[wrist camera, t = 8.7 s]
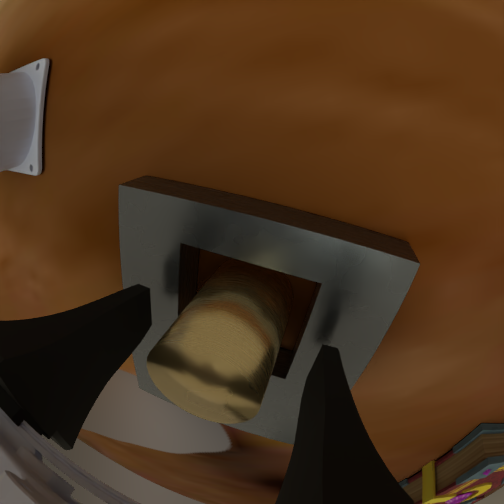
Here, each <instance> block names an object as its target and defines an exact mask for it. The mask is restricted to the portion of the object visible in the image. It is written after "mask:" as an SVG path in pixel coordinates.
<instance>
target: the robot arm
mask: <svg viewBox="0 0 504 504" xmlns="http://www.w3.org/2000/svg"><path fill="white" fill-rule="evenodd" d="M48 69H49V59H48V58H43V59H40V60H38V61H35V62H33V63H30V64H28V65H25V66H23V67H21V68H18V69H16V70H14V71H12V72H10V73H2V74H0V172H2V171H5V170H9V171H14V172H19V173H24V174H29V175H34V176H36V175H39V174H41V172H42V128H43V111H44V100H45V91H46V83H47V76H48ZM151 326H152V315H151V297H150V288H148V287H145V286H143V285H140V284H136V285H134V286H131V287H128V288H126V289H123V290H121V291H118V292H116V293H114V294H111V295H109V296H106V297H104V298H101V299H99V300H96V301H94V302H91V303H88V304H86V305H83V306H80V307H77V308H75V309H71V310H68V311H65V312H61V313H57V314H54V315H49V316H44V317H38V318H33V319H25V320H13V321H0V504H82V503H81V502H79V501H78V500H76V499H75V498H74V497H72V496H71V494H72V492H73V491H74V490H75V489H74V487H73V486H72V485H70V484H69V483H68V482H66V481H65V480H64V479H63V478H61V477H60V476H58V474H56V473H55V472H54V471H52V470H51V469H50V468H49V467H48V466H47V465H45V464H44V463H43V461H42V455H43V456H44V457H45V458H46V459H47V460H49V461H50V462H51V463H52V464H53V465H54V466H56V467H57V468H58V469H60V470H61V471H62V472H63V473H64V474H66V475H67V476H69V477H70V478H71V479H72V480H74V481H75V482H76V483H78V484H79V485H81V486H82V487H83V488H85V489H86V490H88V491H89V492H91V493H92V494H94V495H95V496H97V497H98V498H100V499H102V500H103V501H105V502H106V503H108V504H140V503H138V502H136V501H134V500H132V499H130V498H128V497H126V496H125V495H123V494H121V493H119V492H118V491H116V490H114V489H113V488H111V487H109V486H108V485H106V484H105V483H103V482H101V481H99V480H98V479H97V478H95V477H94V476H92V475H91V474H89V473H88V472H86V471H85V470H83V469H82V468H80V467H79V466H78V465H76V464H75V463H74V462H72V461H71V460H70V459H68V458H67V457H66V456H64V455H63V454H62V453H61V452H59V451H58V450H57V449H56V448H55V447H53V446H52V445H51V444H50V443H49V442H47V441H46V440H45V439H44V438H43V437H42V436H41V435H42V434H43V435H44V436H45V437H47V438H48V439H50V438H51V439H52V440H54V441H55V442H56V443H57V444H58V445H60V446H61V447H62V448H63V449H65V450H70V449H72V448H73V446H74V443H75V441H76V438H77V436H78V434H79V432H80V429H81V427H82V425H83V423H84V421H85V419H86V417H87V415H88V413H89V411H90V410H91V408H92V406H93V405H94V403H95V401H96V399H97V398H98V396H99V394H100V393H101V391H102V390H103V388H104V387H105V385H106V384H107V382H108V381H109V380H110V378H111V377H112V376H113V374H114V373H115V372H116V371H117V370H118V369H119V368H120V366H121V365H122V364H123V363H124V362H125V361H126V359H127V358H128V357H129V356H130V355H131V354H132V352H133V351H134V350H135V349H136V348H137V346H138V345H139V344H140V343H141V341H142V340H143V338H144V337H145V335H146V334H147V332H148V330H149V329H150V327H151ZM41 454H42V455H41ZM275 504H414V501H413V500H412V498H411V497H410V496H409V495H408V494H407V493H406V492H405V490H404V489H403V488H402V487H401V486H400V485H399V483H398V482H397V481H396V479H395V478H394V477H393V475H392V474H391V473H390V471H389V470H388V468H387V467H386V465H385V463H384V462H383V460H382V459H381V457H380V455H379V454H378V452H377V451H376V449H375V447H374V445H373V443H372V441H371V439H370V438H369V436H368V433H367V431H366V429H365V427H364V425H363V423H362V420H361V418H360V416H359V413H358V411H357V408H356V405H355V403H354V400H353V397H352V394H351V391H350V388H349V385H348V382H347V379H346V375H345V372H344V368H343V364H342V360H341V356H340V352H339V350H338V348H335V347H331V346H327V345H324V344H322V346H321V349H320V351H319V353H318V355H317V357H316V359H315V361H314V364H313V366H312V368H311V370H310V372H309V374H308V376H307V378H306V382H305V386H304V390H303V394H302V398H301V403H300V410H299V416H298V423H297V429H296V435H295V441H294V447H293V452H292V456H291V459H290V463H289V466H288V469H287V472H286V475H285V478H284V481H283V484H282V487H281V490H280V493H279V495H278V498H277V501H276V503H275Z"/></svg>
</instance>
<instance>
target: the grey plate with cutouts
mask: <svg viewBox="0 0 504 504" xmlns="http://www.w3.org/2000/svg"><path fill="white" fill-rule="evenodd" d="M119 238H120V256H121V270H122V281H123V289H126V288H128V287H131V286H134V285H136V284H140V285H143V286H145V287H148V288H150V297H151V315H152V326H151V327H150V329H149V330H148V332H147V334H146V335H145V337H144V338H143V340H142V341H141V343H140V344H139V345H138V346H137V348H136V349H135V350H134V351H133V352H132V354H133V359H134V365H135V370H136V374H137V379H138V384H139V388H141V389H142V390H144V391H146V392H148V393H150V394H152V395H155V396H157V397H159V398H161V399H163V400H165V401H167V402H170V403H172V404H174V403H173V402H171V401H170V400H169V399H168V398H167V397H166V396H165V395H163V393H162V392H161V391H160V390H159V389H158V388H157V387H156V385H155V384H154V382H153V381H152V379H151V377H150V375H149V373H148V369H147V362H146V361H147V356H148V354H149V352H150V351H151V350H152V348H153V347H154V346H155V345H156V343H157V342H158V341H159V340H160V338H161V337H162V336H163V335H164V334H165V332H166V331H167V330H168V329H169V327H170V326H171V325H172V324H173V322H174V321H175V320H176V319H177V318H178V316H179V315H180V314H181V313H182V311H183V310H184V309H185V308H186V307H187V305H188V304H189V303H190V302H191V300H192V299H193V298H194V297H195V296H196V287H197V273H198V261H199V250H200V249H203V250H207V251H210V252H214V253H217V254H221V255H224V256H227V257H231V258H234V259H238V260H241V261H245V262H248V263H251V264H255V265H258V266H262V267H265V268H269V269H272V270H276V271H279V272H283V273H286V274H290V275H293V276H297V277H300V278H304V279H307V280H311V281H315V282H317V285H316V288H315V291H314V294H313V297H312V300H311V303H310V306H309V309H308V311H307V314H306V317H305V320H304V323H303V325H302V328H301V331H300V334H299V336H298V339H297V342H296V344H295V347H294V349H293V352H292V351H288V350H285V349H281V348H279V352H278V355H277V358H276V361H275V364H274V368H273V371H272V374H271V377H270V380H269V383H268V386H267V389H266V392H265V395H264V398H263V401H262V404H261V407H260V410H259V412H258V413H257V415H256V416H255V417H253V418H252V419H250V420H248V421H246V422H242V423H236V424H225V423H222V424H225V425H228V426H231V427H234V428H237V429H240V430H243V431H246V432H249V433H252V434H256V435H259V436H263V437H266V438H270V439H274V440H277V441H281V442H285V443H289V444H294V441H295V435H296V429H297V423H298V416H299V410H300V403H301V398H302V394H303V390H304V386H305V382H306V378H307V376H308V374H309V372H310V370H311V368H312V366H313V364H314V361H315V359H316V357H317V355H318V353H319V351H320V349H321V346H322V344H324V345H327V346H331V347H335V348H338V350H339V352H340V356H341V360H342V364H343V368H344V372H345V375H346V379H347V382H348V385H349V388H350V390H351V389H352V387H353V386H354V384H355V383H356V381H357V380H358V378H359V377H360V375H361V374H362V372H363V370H364V369H365V367H366V366H367V364H368V363H369V361H370V359H371V358H372V356H373V354H374V353H375V351H376V349H377V348H378V346H379V344H380V343H381V341H382V339H383V337H384V336H385V334H386V332H387V330H388V328H389V327H390V325H391V323H392V321H393V319H394V317H395V315H396V314H397V312H398V310H399V308H400V306H401V304H402V302H403V300H404V298H405V296H406V294H407V292H408V290H409V287H410V285H411V283H412V281H413V279H414V277H415V274H416V272H417V270H418V268H419V265H420V262H419V261H418V259H417V257H416V255H415V253H414V251H413V250H412V248H411V246H410V244H409V243H408V242H406V241H403V240H400V239H396V238H393V237H390V236H387V235H384V234H381V233H377V232H374V231H371V230H368V229H364V228H361V227H358V226H354V225H351V224H347V223H344V222H340V221H337V220H333V219H330V218H326V217H323V216H319V215H315V214H312V213H308V212H304V211H301V210H297V209H293V208H289V207H285V206H281V205H278V204H274V203H270V202H266V201H262V200H257V199H253V198H249V197H245V196H241V195H236V194H232V193H228V192H223V191H219V190H214V189H210V188H205V187H201V186H196V185H191V184H186V183H181V182H177V181H172V180H166V179H161V178H156V177H151V176H143V177H140V178H137V179H134V180H131V181H128V182H125V183H122V184H120V185H119ZM174 405H175V404H174ZM176 406H177V405H176Z"/></svg>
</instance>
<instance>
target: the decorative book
mask: <svg viewBox="0 0 504 504" xmlns="http://www.w3.org/2000/svg"><path fill="white" fill-rule="evenodd" d="M502 484H504V424H483V423H481V424H480V425H479V426H478V427H477V428H476V429H474V430H473V431H472V432H471V433H470V434H469V435H467V436H466V437H465V438H464V439H463V440H461V441H460V442H459V443H458V444H456V445H455V446H454V447H453V450H452V451H450V452H449V453H448V454H446V455H445V456H443V457H442V458H441V459H439V460H438V461H431V462H430V463H428V464H427V465H425V466H424V467H422V471H421V472H420V473H418V474H416V475H415V476H413V477H411V478H410V479H405V480H403V481H401V482H400V483H399V485H400V486H401V487H402V488H403V489H404V490H405V492H406V493H407V494H408V495H409V496H410V497H411V498H412V500H413V501H414V504H473V503H475V502H477V501H478V500H480V499H482V498H484V495H485V494H487V493H488V492H490V491H492V490H493V489H495V488H497V487H498V486H500V485H502Z"/></svg>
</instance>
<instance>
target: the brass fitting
mask: <svg viewBox="0 0 504 504" xmlns="http://www.w3.org/2000/svg"><path fill="white" fill-rule="evenodd" d="M292 304H293V290H292V287H291V284H290V282H289V280H288V278H287V277H286V275H285V274H284V273H283V272H279V271H276V270H272V269H269V268H265V267H262V266H258V265H255V264H251V263H248V262H245V261H241V260H238V259H234V258H231V259H229V260H227V261H225V262H224V263H223V264H221V265H220V266H219V268H218V269H217V270H216V271H215V273H214V274H213V275H212V276H211V277H210V279H209V280H208V281H207V282H206V283H205V285H204V286H203V287H202V288H201V289H200V291H199V292H198V293H197V294H196V296H195V297H194V298H193V299H192V300H191V302H190V303H189V304H188V305H187V307H186V308H185V309H184V310H183V311H182V313H181V314H180V315H179V316H178V318H177V319H176V320H175V321H174V322H173V324H172V325H171V326H170V327H169V329H168V330H167V331H166V332H165V334H164V335H163V336H162V337H161V338H160V340H159V341H158V342H157V343H156V345H155V346H154V347H153V348H152V350H151V351H150V352H149V354H148V356H147V361H146V362H147V369H148V373H149V375H150V377H151V379H152V381H153V382H154V384H155V385H156V387H157V388H158V389H159V390H160V391H161V392H162V393H163V395H165V396H166V397H167V398H168V399H169V400H170V401H171V402H173V403H174V404H175V405H177V406H179V407H180V408H182V409H183V410H185V411H187V412H189V413H191V414H193V415H195V416H197V417H200V418H202V419H205V420H209V421H213V422H217V423H225V424H236V423H242V422H246V421H248V420H250V419H252V418H253V417H255V416H256V415H257V413H258V412H259V410H260V407H261V404H262V401H263V398H264V395H265V392H266V389H267V386H268V383H269V380H270V377H271V374H272V371H273V368H274V364H275V361H276V358H277V355H278V352H279V348H280V345H281V342H282V339H283V335H284V332H285V329H286V325H287V322H288V318H289V315H290V312H291V308H292Z"/></svg>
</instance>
